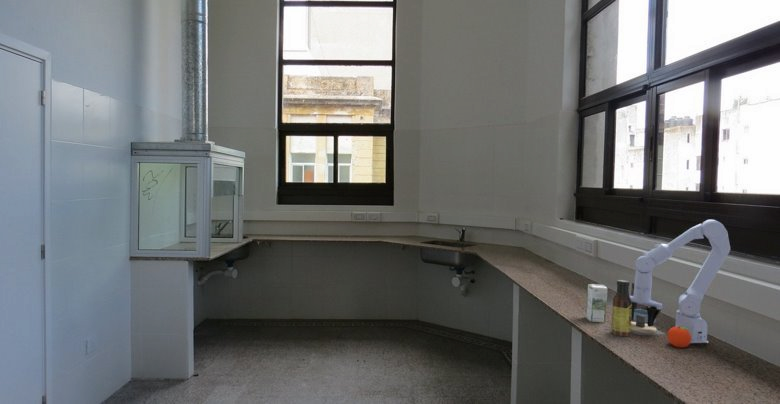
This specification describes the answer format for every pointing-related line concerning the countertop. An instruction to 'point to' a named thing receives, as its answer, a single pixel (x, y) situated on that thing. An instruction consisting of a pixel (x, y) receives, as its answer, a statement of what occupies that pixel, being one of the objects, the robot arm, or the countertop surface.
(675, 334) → the clementine
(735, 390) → the countertop surface
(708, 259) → the robot arm
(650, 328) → the lid
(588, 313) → the syrup box
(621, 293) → the sauce bottle
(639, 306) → the box
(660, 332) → the mat
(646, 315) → the bowl
